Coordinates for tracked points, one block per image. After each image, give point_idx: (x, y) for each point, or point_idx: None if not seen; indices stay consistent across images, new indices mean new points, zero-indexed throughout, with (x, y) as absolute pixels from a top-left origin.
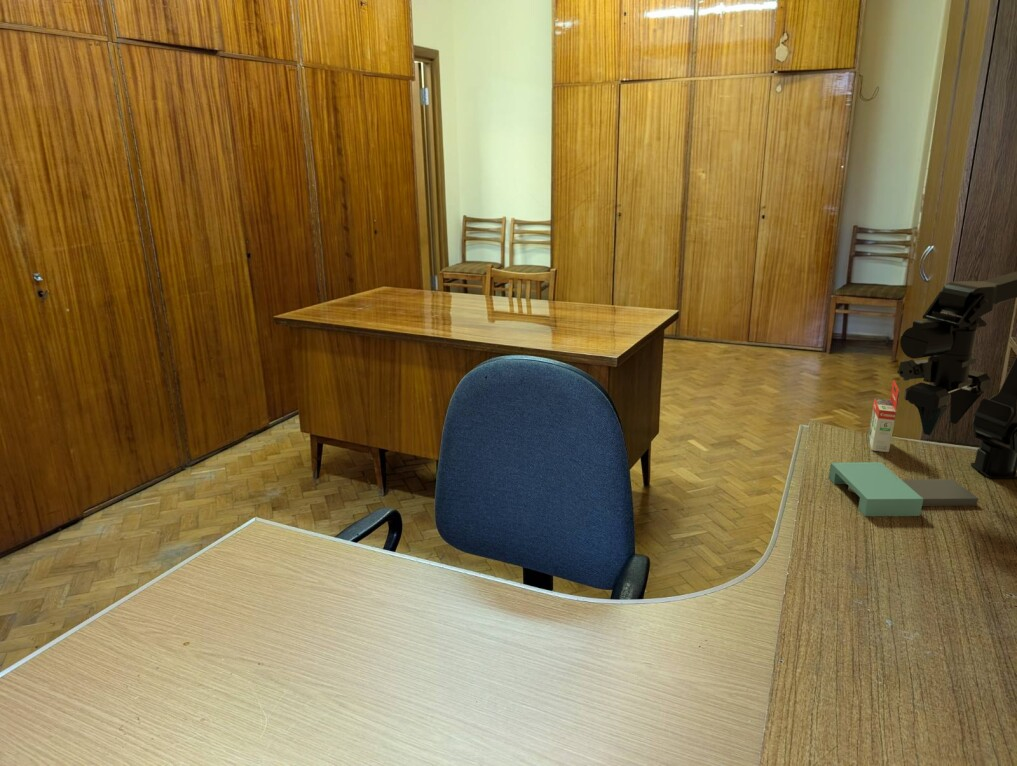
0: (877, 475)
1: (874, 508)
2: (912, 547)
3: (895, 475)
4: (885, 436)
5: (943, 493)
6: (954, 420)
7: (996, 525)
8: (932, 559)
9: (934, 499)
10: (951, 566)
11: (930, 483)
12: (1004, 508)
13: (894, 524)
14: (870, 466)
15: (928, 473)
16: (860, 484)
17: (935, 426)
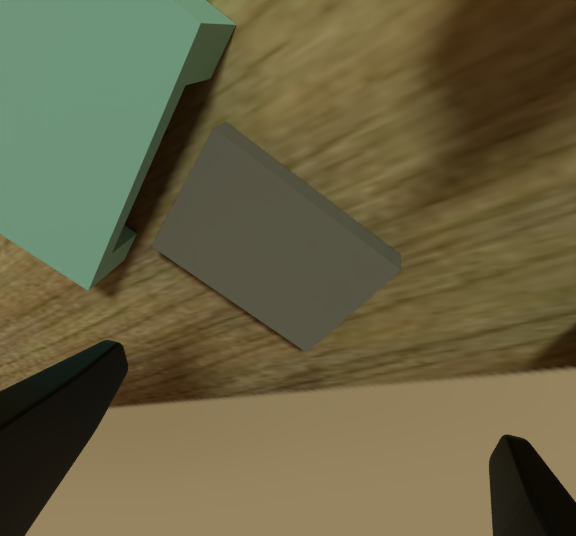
0: (70, 106)
1: None
2: (7, 293)
3: (141, 158)
4: None
5: (253, 282)
6: (499, 481)
7: (245, 379)
8: (15, 328)
9: (196, 275)
10: (31, 352)
11: (293, 231)
12: (354, 380)
13: None
14: (110, 20)
15: (470, 153)
16: None
17: (70, 455)
